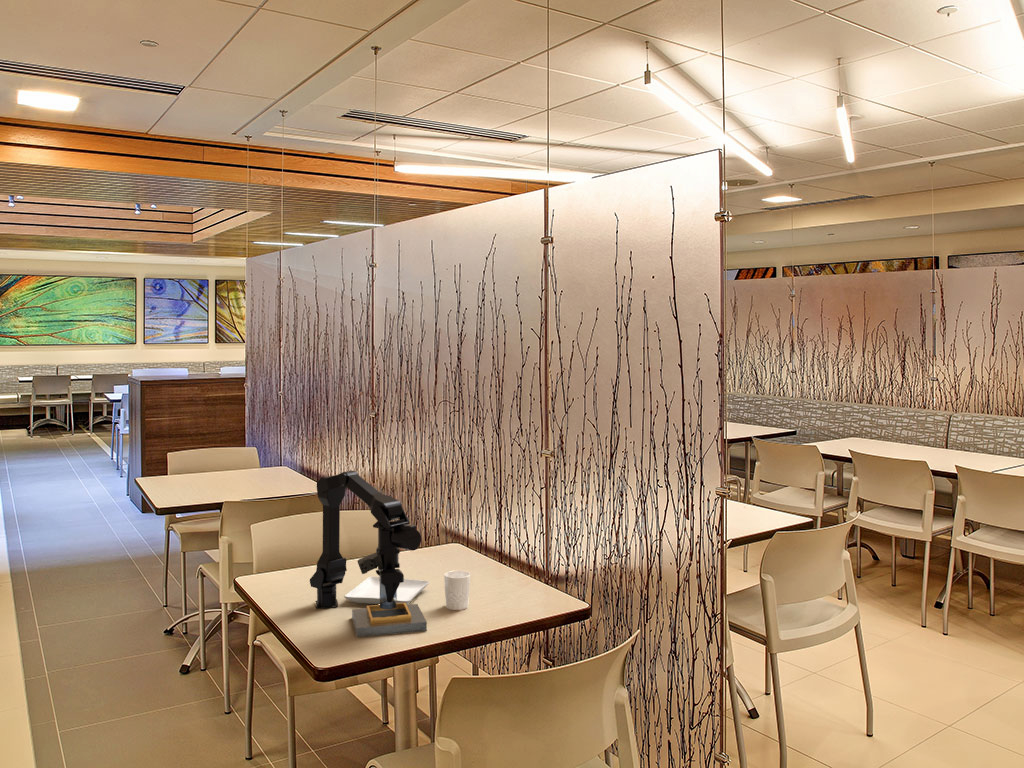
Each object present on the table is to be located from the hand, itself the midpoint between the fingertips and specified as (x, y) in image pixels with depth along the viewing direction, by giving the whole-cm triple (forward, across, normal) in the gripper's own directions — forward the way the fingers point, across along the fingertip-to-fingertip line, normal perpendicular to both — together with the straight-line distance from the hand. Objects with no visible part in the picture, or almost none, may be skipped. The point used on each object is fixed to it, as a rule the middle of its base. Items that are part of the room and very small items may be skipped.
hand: (388, 599), depth 219 cm
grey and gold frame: (+7, 0, 0) cm, 7 cm away
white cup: (+7, -10, +22) cm, 25 cm away
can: (+2, 0, 0) cm, 2 cm away
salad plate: (+8, -25, +3) cm, 26 cm away
